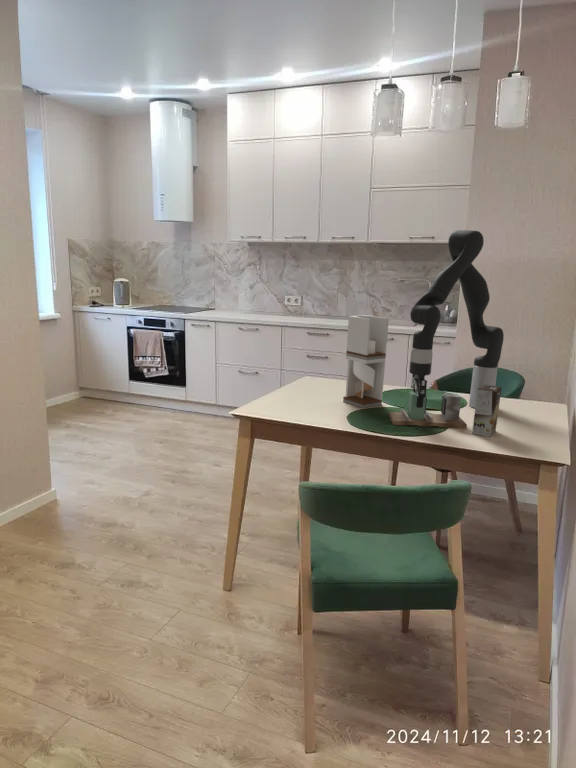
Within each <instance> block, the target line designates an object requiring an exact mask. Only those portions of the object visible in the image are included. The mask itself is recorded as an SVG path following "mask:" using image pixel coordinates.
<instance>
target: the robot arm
mask: <svg viewBox="0 0 576 768" xmlns="http://www.w3.org/2000/svg"><path fill="white" fill-rule="evenodd" d="M447 241H448V243H447V244H448V250H449V254H450V256H451V257H450V258H451V259H452V263H451V264H450V265H448V266H447V267H446V268H444V269H443V270H442V271H441V272H439V274H437V276H435V278H434V279H433V281H432V282H431V285H430V286H429V288H428V290H427V291H426V292H425V293H424V294H423V295H422V296H421V297H420V298H419V299H418V301H416V302H415V304H414V305H412V306H413V307H412V308H411V311H410V319H411V322H412V323H414V324H416V325H423V328H422V330H419V331H415V332H414V333H413V335H412V336H413V337H412V347H411V351H410V362H409V373H410V374H411V383H410V384H411V385H410V388H411V392H417V403H416V407H417V408H422V407H423V400H424V397H427V388H428V387H427V386H428V381H427V379H425V376H429V375H430V376H431V373H432V364H433V345H434V338H435V334H436V332H437V330H438V327H439V324H440V321H441V315H442V314H441V311H440V308H439V307H438V306H441V305H443V304H444V303H445V301H446V300H447V299H448V296H449V295H450V293H451V291H452V290H453V288H454V287H455V285H456V283H457V282H458V280H459V284H460V286H461V292H462V295H463V300H464V302H465V306H466V311H467V315H468V320H469V326H470V334H471V338H472V343H473V345H474V346H475V347H476V348H480V349H485V350H486V353H485V354H484V355H482V356H477V357H475V358H474V361H473V365H472V366H473V368H472V374H471V375H472V376H471V384H470V385H471V386H470V394H469V400H468V401H469V403H468V406H469V407H470V406H471V408H473V407H474V408H473V409H475V407H476V399H477V391H478V388H480V387H481V386H483V385H488V386H489V385H490V386H497V385H496V382H497V376H498V375H497V374H498V368H499V367H498V366H499V362H500V360H501V357H502V356H501V354H502V349H503V343H504V330H503V329H502V328H501V327H499V326H491V325H486V324H485V322H484V316H483V315H484V313H485V311H486V309H487V307H488V305H489V303H490V292H489V287H488V283H487V281H486V279H485V277H483V275H482V274H481V273H480V271H478V269H477V268H476V267H475V266H474V265H473V262H474V261H475V260H476V259H477V258H478V256H479V254H480V253H481V251H482V249H483V247H484V242H485V241H484V236H483V234H482V232H480V231H479V230H470V229H468V230H463V229H461V230H455V231H452V232H451V233H450V235H449V237H448V240H447ZM420 392H422V394H420Z"/></svg>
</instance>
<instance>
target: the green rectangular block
mask: <svg viewBox="0 0 576 768" xmlns="http://www.w3.org/2000/svg"><path fill="white" fill-rule="evenodd" d="M408 394H409V395H408V406H407V413H408V416H409V418H410V419H424V414H425V413H426V410H427V403H428V397H427V396H426V397H424V400H423V407H422V408H417V407H416V403H417V392H413V391H409V393H408ZM420 394H422V392H420Z"/></svg>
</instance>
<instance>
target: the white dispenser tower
mask: <svg viewBox="0 0 576 768" xmlns="http://www.w3.org/2000/svg"><path fill="white" fill-rule="evenodd" d="M389 321H390V319H389V318H388V317H381V316H376V315H348V325H347V337H346V338H347V340H346V341H347V342H346V355H345V359H346V360H347V369H346V371H347V372H346V384H345V385H346V387H345V396H343V398H342V399H343V401H342V402H344V403H345V404H350V405H352V406H356V407H359V408H360V409H361V408H362V409H365V408H371V407H377V406H382V405H383V403H382V402H383V393H384V392H383V391H384V379H385V370H386V369H385V368H386V357H387V354H386V353H387V344H388V331H389Z"/></svg>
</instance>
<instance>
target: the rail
mask: <svg viewBox="0 0 576 768" xmlns="http://www.w3.org/2000/svg"><path fill="white" fill-rule="evenodd" d="M461 402H462V396H461V395H460V394H458V393H449V392H447V393H445V392H444V393H443V395H442V398H441V407H440V413H430V412H429V411H428V410H427V409H426V413H425V414H424V419H410V418H409V416H408V412H407V411H406V410H405V409H404V408H401V409H400V411H399V412H397V411H388V415H387V416H388V418H389V420H390V422H391V421H392V422H391V424H392V425H393V426H407V425H419V426H418V427H428V426H439V427H438V428H453V429H455V428H456V429H467V425H468V424H467V423H466V422H465V421H464V419H462V417H460V413H461V412H460V410H461Z"/></svg>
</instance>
